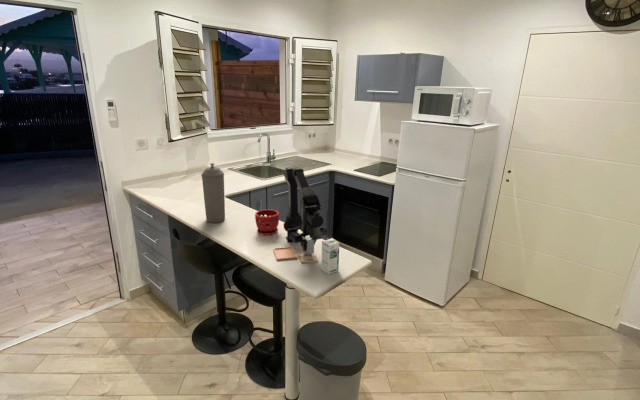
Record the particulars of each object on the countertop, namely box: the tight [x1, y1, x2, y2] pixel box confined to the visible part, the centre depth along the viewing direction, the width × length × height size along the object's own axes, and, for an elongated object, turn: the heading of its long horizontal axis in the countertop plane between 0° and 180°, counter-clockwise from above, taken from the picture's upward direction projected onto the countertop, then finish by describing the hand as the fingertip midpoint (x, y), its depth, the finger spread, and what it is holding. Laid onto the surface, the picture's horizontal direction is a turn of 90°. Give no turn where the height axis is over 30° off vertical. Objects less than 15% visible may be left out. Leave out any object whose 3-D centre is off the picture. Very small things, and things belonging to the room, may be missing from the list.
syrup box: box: [320, 237, 340, 275], centre depth 157 cm, size 6×6×14 cm
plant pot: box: [254, 209, 280, 237], centre depth 196 cm, size 13×13×12 cm
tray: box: [272, 245, 298, 261], centre depth 173 cm, size 12×10×1 cm
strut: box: [301, 236, 315, 255], centre depth 167 cm, size 4×4×7 cm
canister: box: [201, 162, 226, 224], centre depth 207 cm, size 13×13×35 cm
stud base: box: [297, 252, 319, 264], centre depth 169 cm, size 8×8×2 cm
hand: (308, 250), depth 168 cm, fingers closed on strut, 4 cm apart
